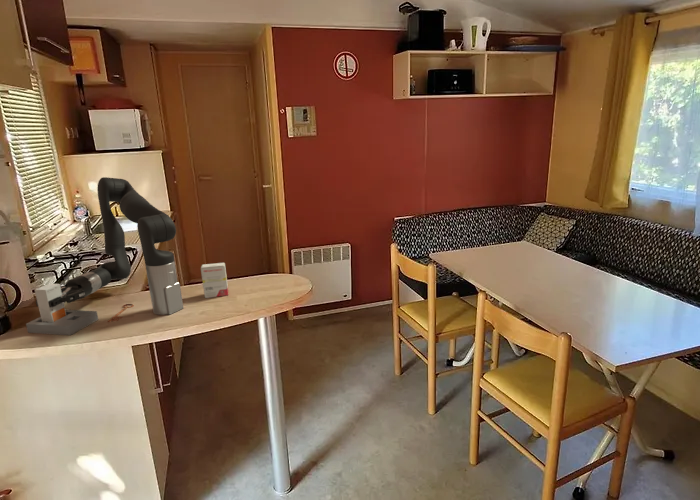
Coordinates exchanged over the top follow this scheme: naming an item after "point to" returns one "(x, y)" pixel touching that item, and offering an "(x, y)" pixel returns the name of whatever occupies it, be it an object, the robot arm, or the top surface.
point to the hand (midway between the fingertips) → (43, 304)
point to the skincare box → (43, 298)
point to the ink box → (214, 280)
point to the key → (120, 313)
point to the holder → (64, 323)
